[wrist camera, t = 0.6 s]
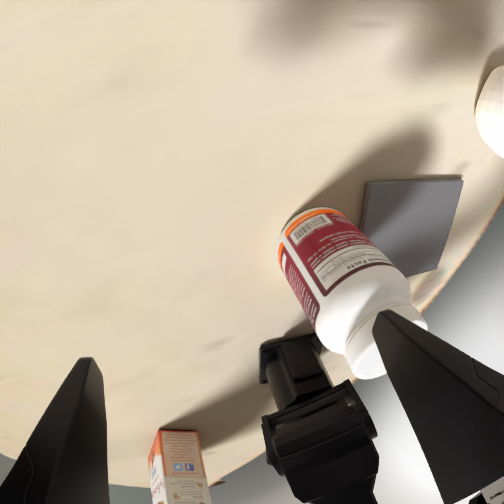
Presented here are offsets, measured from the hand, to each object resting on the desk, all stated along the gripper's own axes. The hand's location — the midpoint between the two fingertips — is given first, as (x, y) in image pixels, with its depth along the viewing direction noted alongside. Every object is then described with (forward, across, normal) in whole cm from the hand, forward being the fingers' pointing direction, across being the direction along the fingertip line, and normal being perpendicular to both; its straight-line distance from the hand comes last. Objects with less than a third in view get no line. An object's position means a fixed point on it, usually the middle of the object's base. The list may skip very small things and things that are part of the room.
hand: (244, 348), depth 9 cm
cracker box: (+13, +9, +38) cm, 42 cm away
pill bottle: (+13, -8, +5) cm, 16 cm away
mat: (+12, -18, +5) cm, 22 cm away
